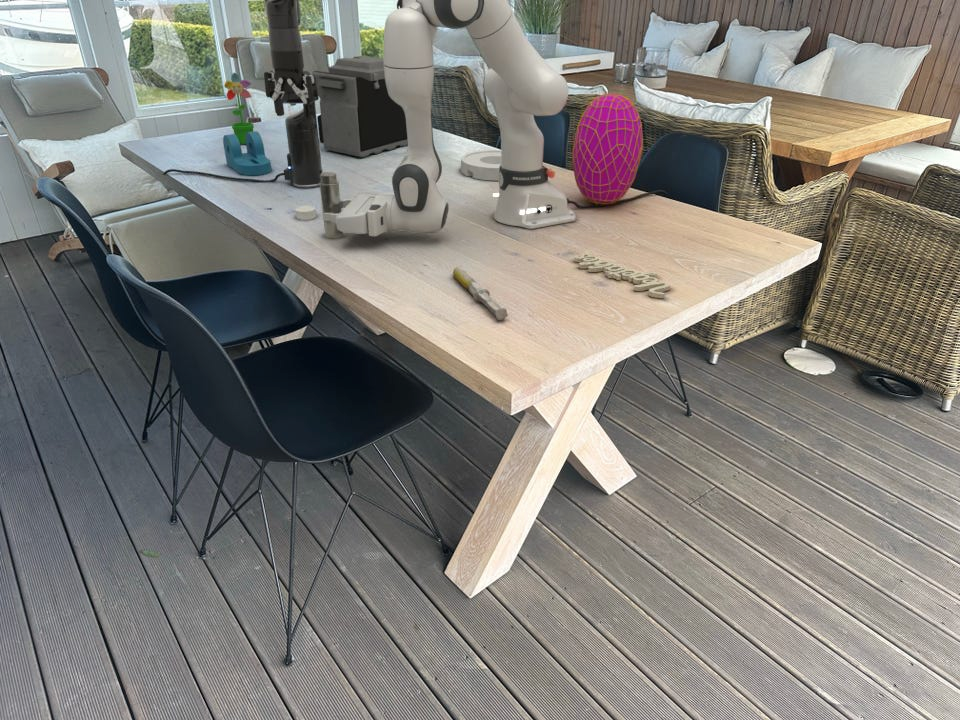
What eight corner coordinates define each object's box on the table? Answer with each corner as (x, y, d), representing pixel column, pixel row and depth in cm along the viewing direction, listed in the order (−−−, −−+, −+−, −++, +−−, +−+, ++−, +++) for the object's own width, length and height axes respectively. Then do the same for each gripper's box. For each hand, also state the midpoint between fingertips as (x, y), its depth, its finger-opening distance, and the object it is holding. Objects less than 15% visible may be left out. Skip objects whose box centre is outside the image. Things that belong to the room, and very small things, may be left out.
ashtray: (462, 161, 240) (462, 149, 238) (529, 162, 239) (529, 150, 237) (459, 179, 220) (459, 167, 218) (531, 181, 220) (531, 168, 217)
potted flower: (235, 145, 255) (223, 73, 243) (231, 141, 261) (219, 70, 249) (261, 143, 259) (250, 72, 247) (256, 139, 265) (246, 69, 252)
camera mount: (227, 164, 233) (221, 132, 227) (257, 160, 238) (252, 129, 233) (244, 176, 220) (239, 143, 215) (276, 172, 225) (271, 139, 220)
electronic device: (383, 133, 276) (378, 52, 261) (425, 141, 265) (422, 56, 250) (314, 150, 251) (304, 61, 235) (358, 160, 240) (350, 67, 224)
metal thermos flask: (327, 232, 178) (321, 170, 170) (345, 232, 178) (339, 171, 170) (323, 238, 174) (316, 176, 166) (341, 239, 174) (335, 176, 166)
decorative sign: (686, 282, 150) (660, 295, 144) (686, 286, 150) (659, 300, 144) (592, 249, 166) (565, 259, 160) (592, 253, 167) (565, 263, 161)
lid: (303, 221, 185) (302, 213, 184) (292, 216, 188) (291, 208, 187) (320, 216, 188) (319, 208, 187) (308, 212, 191) (307, 204, 190)
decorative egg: (611, 217, 189) (624, 103, 174) (555, 202, 201) (562, 94, 185) (647, 202, 202) (662, 94, 186) (592, 188, 213) (602, 86, 198)
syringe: (449, 274, 155) (449, 263, 153) (465, 272, 156) (464, 260, 154) (490, 323, 135) (491, 310, 133) (508, 319, 136) (508, 307, 134)
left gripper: (252, 47, 166) (262, 117, 174) (301, 51, 161) (309, 122, 169) (272, 44, 172) (280, 112, 180) (319, 47, 167) (326, 117, 175)
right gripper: (392, 188, 178) (341, 185, 180) (371, 213, 161) (314, 210, 162) (394, 211, 182) (343, 209, 183) (373, 239, 164) (317, 235, 166)
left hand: (294, 117), depth 175 cm, fingers open, 8 cm apart
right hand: (329, 210), depth 173 cm, fingers open, 8 cm apart
